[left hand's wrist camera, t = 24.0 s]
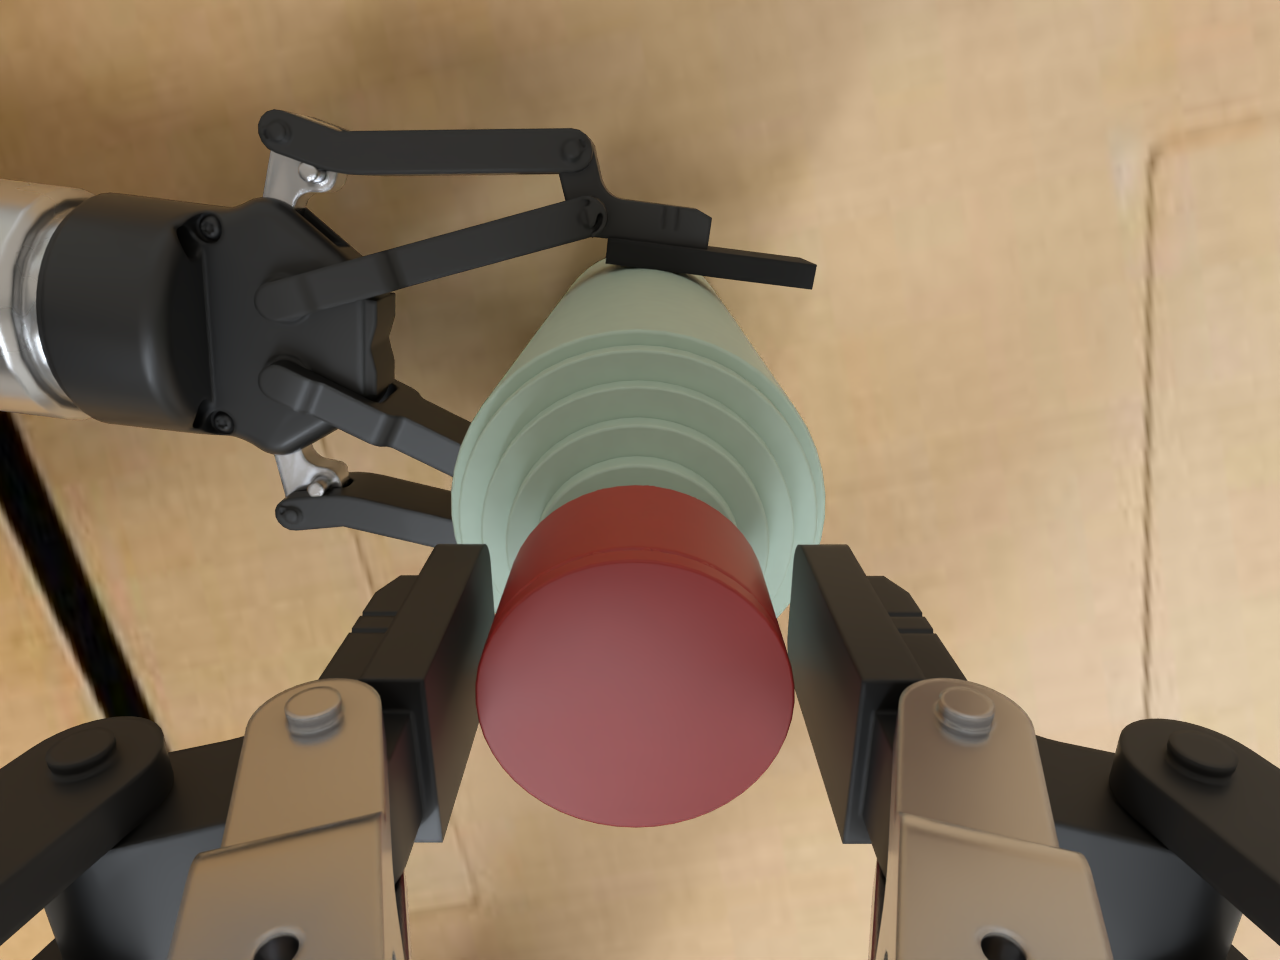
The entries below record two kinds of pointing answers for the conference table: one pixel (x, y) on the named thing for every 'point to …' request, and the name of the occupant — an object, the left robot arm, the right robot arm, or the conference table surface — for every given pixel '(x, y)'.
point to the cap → (635, 661)
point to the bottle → (640, 422)
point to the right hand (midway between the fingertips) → (782, 390)
